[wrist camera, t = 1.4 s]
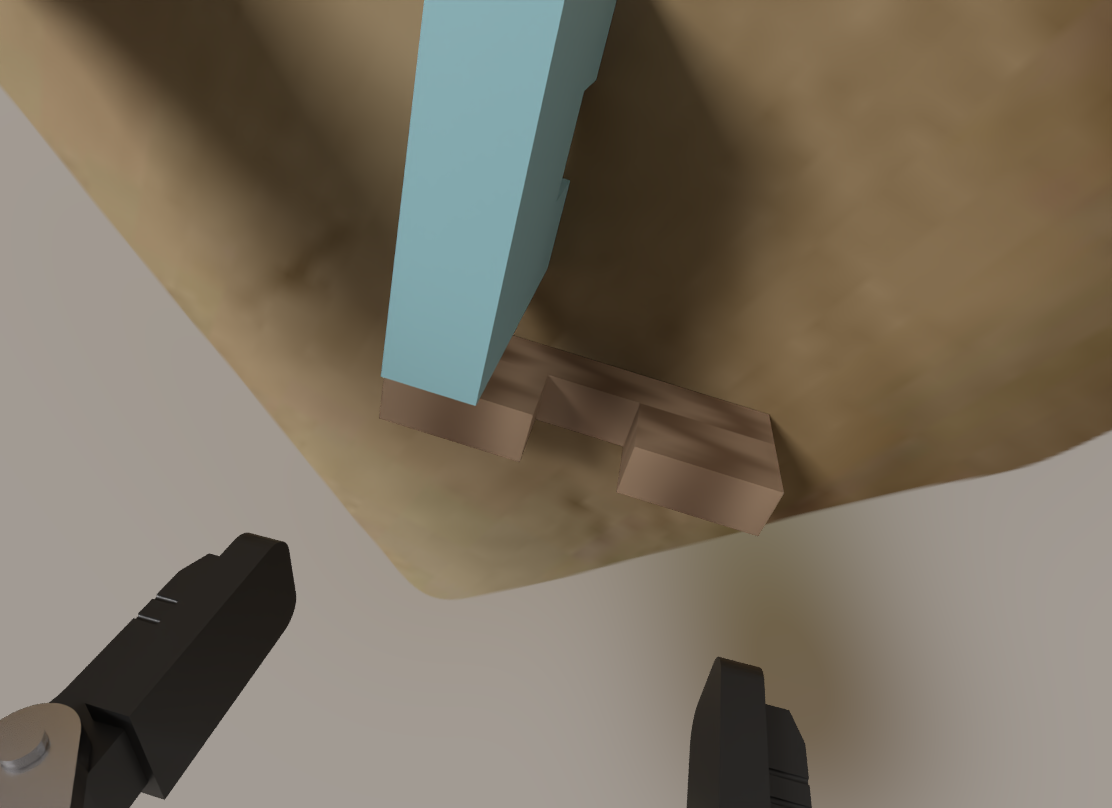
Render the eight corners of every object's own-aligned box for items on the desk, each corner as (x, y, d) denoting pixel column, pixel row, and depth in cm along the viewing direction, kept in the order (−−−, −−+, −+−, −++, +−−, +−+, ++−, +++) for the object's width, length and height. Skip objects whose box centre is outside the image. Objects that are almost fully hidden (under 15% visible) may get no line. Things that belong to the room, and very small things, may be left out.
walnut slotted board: (425, 354, 39) (379, 418, 33) (432, 310, 37) (384, 369, 31) (747, 454, 39) (758, 536, 33) (769, 414, 37) (784, 493, 31)
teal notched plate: (547, 267, 35) (475, 405, 23) (484, 248, 35) (380, 376, 23) (627, -42, 27) (580, -72, 15) (546, -67, 27) (437, -116, 15)
